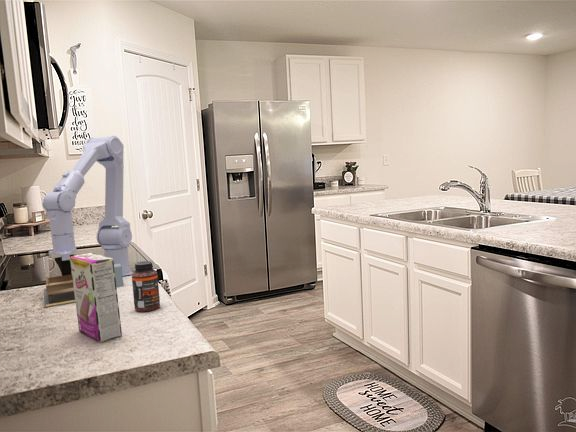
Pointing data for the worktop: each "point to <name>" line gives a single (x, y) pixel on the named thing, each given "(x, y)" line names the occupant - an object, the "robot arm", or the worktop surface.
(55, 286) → the shallow wooden tray
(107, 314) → the candy bar box
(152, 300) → the supplement bottle
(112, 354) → the worktop surface
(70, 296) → the plate
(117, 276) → the block
